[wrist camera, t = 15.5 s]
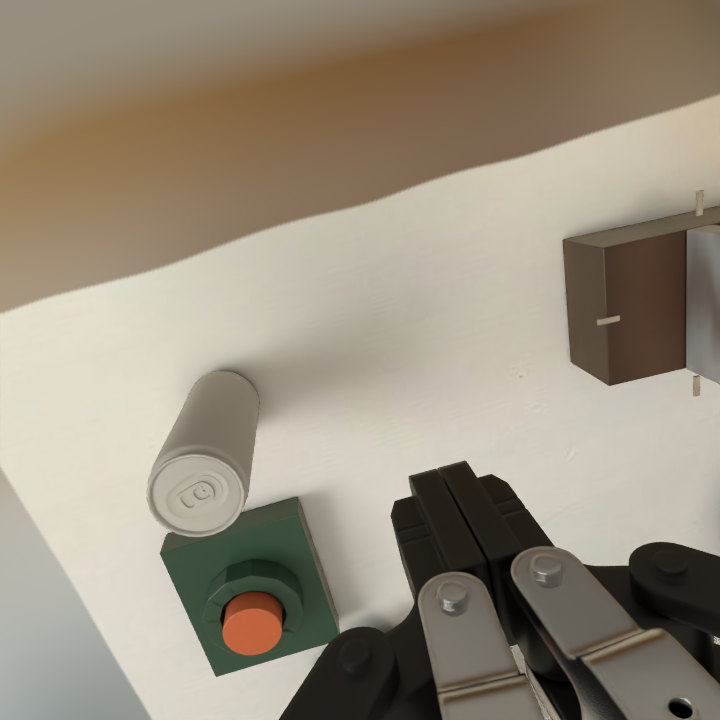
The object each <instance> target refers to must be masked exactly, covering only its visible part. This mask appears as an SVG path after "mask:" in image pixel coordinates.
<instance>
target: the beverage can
mask: <svg viewBox="0 0 720 720" xmlns="http://www.w3.org/2000/svg"><path fill="white" fill-rule="evenodd" d="M258 414H259V399H258V394H257V392H256V390H255V389H254V387H253V386H252V385H251V383H250V382H249V381H248V380H247V379H245V378H243V377H242V376H240V375H238V374H235V373H232V372H225V371H218V372H212V373H209V374H207V375H205V376H203V377H201V378H200V379H199V380H198V381H197V382H196V383H195V384H194V386H193V388H192V389H191V391H190V393H189V395H188V397H187V399H186V401H185V403H184V406H183V408H182V410H181V412H180V414H179V416H178V418H177V420H176V422H175V424H174V426H173V428H172V430H171V432H170V434H169V436H168V437H167V439H166V441H165V443H164V445H163V447H162V449H161V451H160V453H159V455H158V457H157V459H156V461H155V463H154V465H153V467H152V470H151V473H150V476H149V479H148V488H147V502H148V505H149V508H150V511H151V513H152V514H153V516H154V517H155V519H156V520H157V521H158V522H159V523H160V524H161V525H162V526H164V527H165V528H166V529H168V530H170V531H172V532H174V533H176V534H179V535H184V536H188V537H204V536H209V535H214V534H216V533H218V532H220V531H223V530H225V529H226V528H227V527H228V526H230V525H231V524H232V523H233V522H234V521H235V520H236V519H237V517H238V516H239V515H240V513H241V510H242V508H243V507H244V504H245V502H246V499H247V497H248V492H249V484H250V476H251V468H252V460H253V453H254V445H255V437H256V429H257V422H258Z"/></svg>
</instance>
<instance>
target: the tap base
mask: <svg viewBox="0 0 720 720" xmlns="http://www.w3.org/2000/svg"><path fill="white" fill-rule="evenodd" d="M707 225H719V226H720V206H717V207H712V208H707V209H703V190H701V191H696V211H694V212H689V213H684V214H680V215H675V216H671V217H666V218H661V219H657V220H652V221H648V222H643V223H638V224H634V225H629V226H624V227H620V228H615V229H611V230H606V231H601V232H597V233H592V234H588V235H583V236H578V237H574V238H569V239H565V240H563V249H564V264H565V279H566V294H567V309H568V324H569V339H570V354H571V362H572V363H573V364H575V365H576V366H578V367H580V368H581V369H583V370H584V371H586V372H588V373H589V374H591V375H592V376H594V377H596V378H597V379H599V380H600V381H602V382H604V383H605V384H607V385H608V386H611V385H615V384H620V383H624V382H628V381H632V380H637V379H641V378H645V377H649V376H654V375H658V374H662V373H666V372H671V371H675V370H679V369H683V368H686V280H687V230H689V229H694V228H698V227H703V226H707ZM699 395H700V376H699V375H698V376H694V378H693V396H699Z"/></svg>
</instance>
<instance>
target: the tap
mask: <svg viewBox="0 0 720 720" xmlns="http://www.w3.org/2000/svg"><path fill="white" fill-rule="evenodd" d="M686 369H688V370H690V371H692V372H695V373H697V374H699V375H701V376H703V377H705V378H708V379H710V380H712V381H714V382H716V383H718V384H720V226H719V225H707V226H703V227H698V228H694V229H689V230H687V280H686Z"/></svg>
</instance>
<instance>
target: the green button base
mask: <svg viewBox="0 0 720 720" xmlns="http://www.w3.org/2000/svg"><path fill="white" fill-rule="evenodd" d="M160 555H161V557H162V559H163V562H164V564H165V566H166V568H167V570H168V573H169V575H170V577H171V579H172V581H173V584H174V586H175V588H176V590H177V592H178V595H179V597H180V599H181V601H182V603H183V606H184V608H185V610H186V612H187V614H188V617H189V619H190V621H191V623H192V625H193V628H194V630H195V632H196V634H197V636H198V638H199V641H200V643H201V645H202V647H203V649H204V652H205V654H206V656H207V658H208V660H209V663H210V665H211V667H212V669H213V671H214V674H215V676H216V677H218V676H221V675H224V674H228V673H231V672H234V671H237V670H241V669H244V668H247V667H251V666H254V665H257V664H261V663H264V662H267V661H271V660H274V659H277V658H281V657H284V656H287V655H291V654H294V653H297V652H301V651H304V650H307V649H311V648H314V647H317V646H321V645H324V644H327V643H330V642H331V641H332V640H333V639H334V638H335V637H336V636H338V635H339V634H340V629H339V620H338V616H337V613H336V610H335V607H334V604H333V601H332V598H331V595H330V592H329V589H328V586H327V583H326V580H325V577H324V574H323V571H322V568H321V565H320V562H319V559H318V556H317V553H316V550H315V547H314V544H313V541H312V538H311V535H310V533H309V530H308V527H307V524H306V521H305V518H304V515H303V512H302V509H301V506H300V503H299V500H298V498H297V497H296V498H292V499H289V500H285V501H282V502H278V503H275V504H271V505H268V506H264V507H261V508H257V509H254V510H250V511H247V512H243V513H240V515H239V516H238V517H237V519H236V520H235V521H234V522H233V523H232V524H231V525H230V526H228V527H227V528H226V529H225V530H223V531H220V532H218V533H216V534H214V535H209V536H204V537H188V536H184V535H179V534H176V533H171V534H167V535H166V537H165V540H164V543H163V546H162V549H161V552H160ZM249 591H262V592H266V593H268V594H270V595H272V596H274V597H275V598H276V599H277V600H278V602H279V603H280V605H281V607H282V634H281V637H280V640H279V641H278V643H277V644H276V645H275V646H274V647H273V648H272V649H270V650H269V651H267V652H265V653H262V654H258V655H243V654H239V653H237V652H235V651H233V650H231V649H230V648H229V647H228V646H227V645H226V643H225V641H224V639H223V625H224V618H225V612H226V608H227V606H228V604H229V603H230V602H231V601H232V600H233V599H234V598H235V597H236V596H238V595H240V594H242V593H245V592H249Z"/></svg>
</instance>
